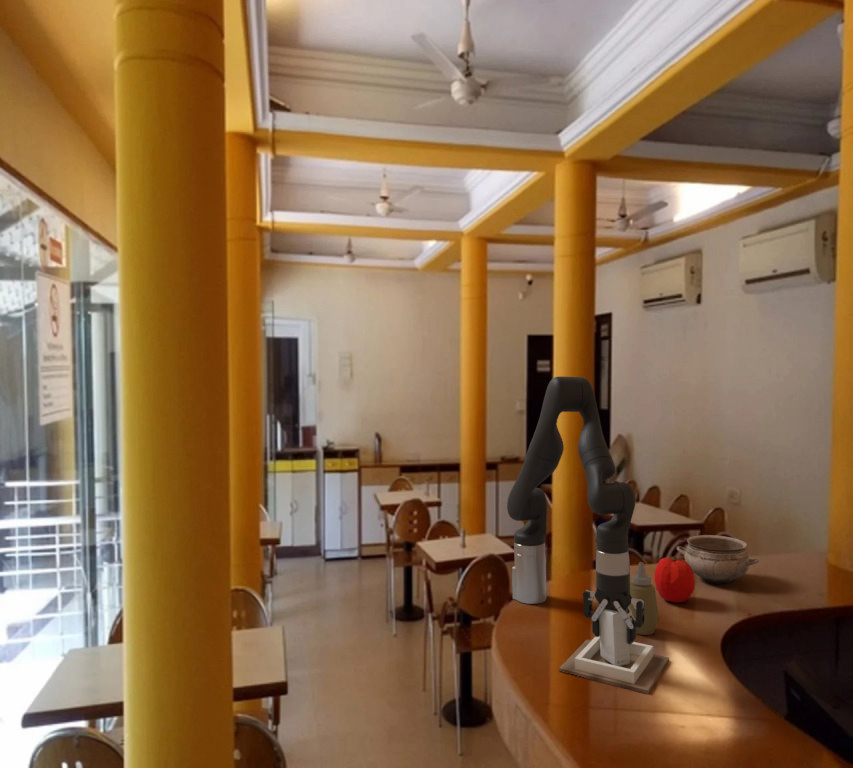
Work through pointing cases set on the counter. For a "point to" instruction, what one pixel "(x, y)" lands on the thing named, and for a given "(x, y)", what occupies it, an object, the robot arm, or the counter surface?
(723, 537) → the cooking pot
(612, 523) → the robot arm
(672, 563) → the tomato
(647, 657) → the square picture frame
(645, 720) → the counter surface
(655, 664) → the board
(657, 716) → the counter surface
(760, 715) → the counter surface
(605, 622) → the skincare box
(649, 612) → the squeeze bottle
